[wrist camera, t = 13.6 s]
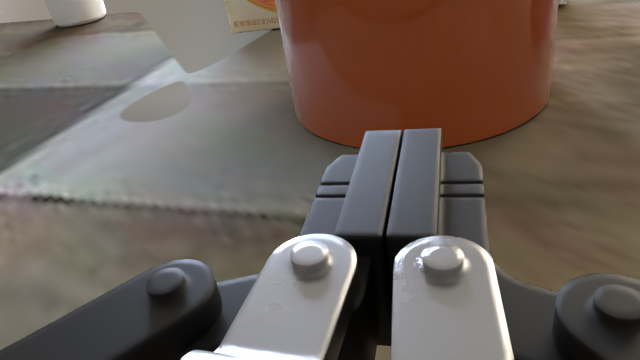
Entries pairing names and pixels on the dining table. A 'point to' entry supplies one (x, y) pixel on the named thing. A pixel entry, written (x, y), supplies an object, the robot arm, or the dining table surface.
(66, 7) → the can
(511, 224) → the dining table surface
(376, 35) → the pot
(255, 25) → the coffeecake box
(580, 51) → the dining table surface
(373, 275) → the robot arm
